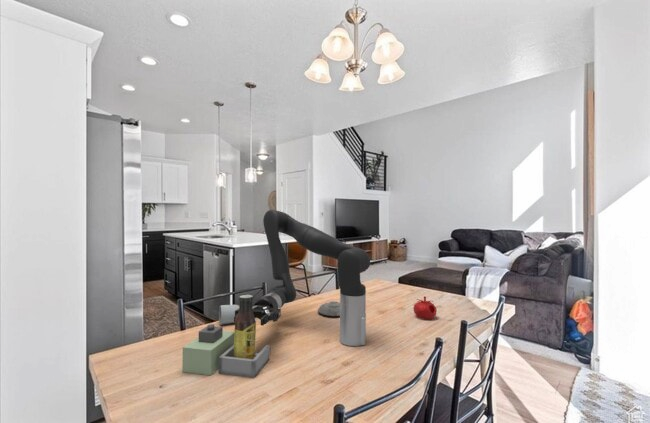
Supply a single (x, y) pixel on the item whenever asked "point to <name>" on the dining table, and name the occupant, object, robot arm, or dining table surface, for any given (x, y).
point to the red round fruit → (425, 309)
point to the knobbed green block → (220, 355)
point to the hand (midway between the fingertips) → (248, 321)
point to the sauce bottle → (245, 329)
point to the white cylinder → (227, 313)
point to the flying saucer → (330, 309)
